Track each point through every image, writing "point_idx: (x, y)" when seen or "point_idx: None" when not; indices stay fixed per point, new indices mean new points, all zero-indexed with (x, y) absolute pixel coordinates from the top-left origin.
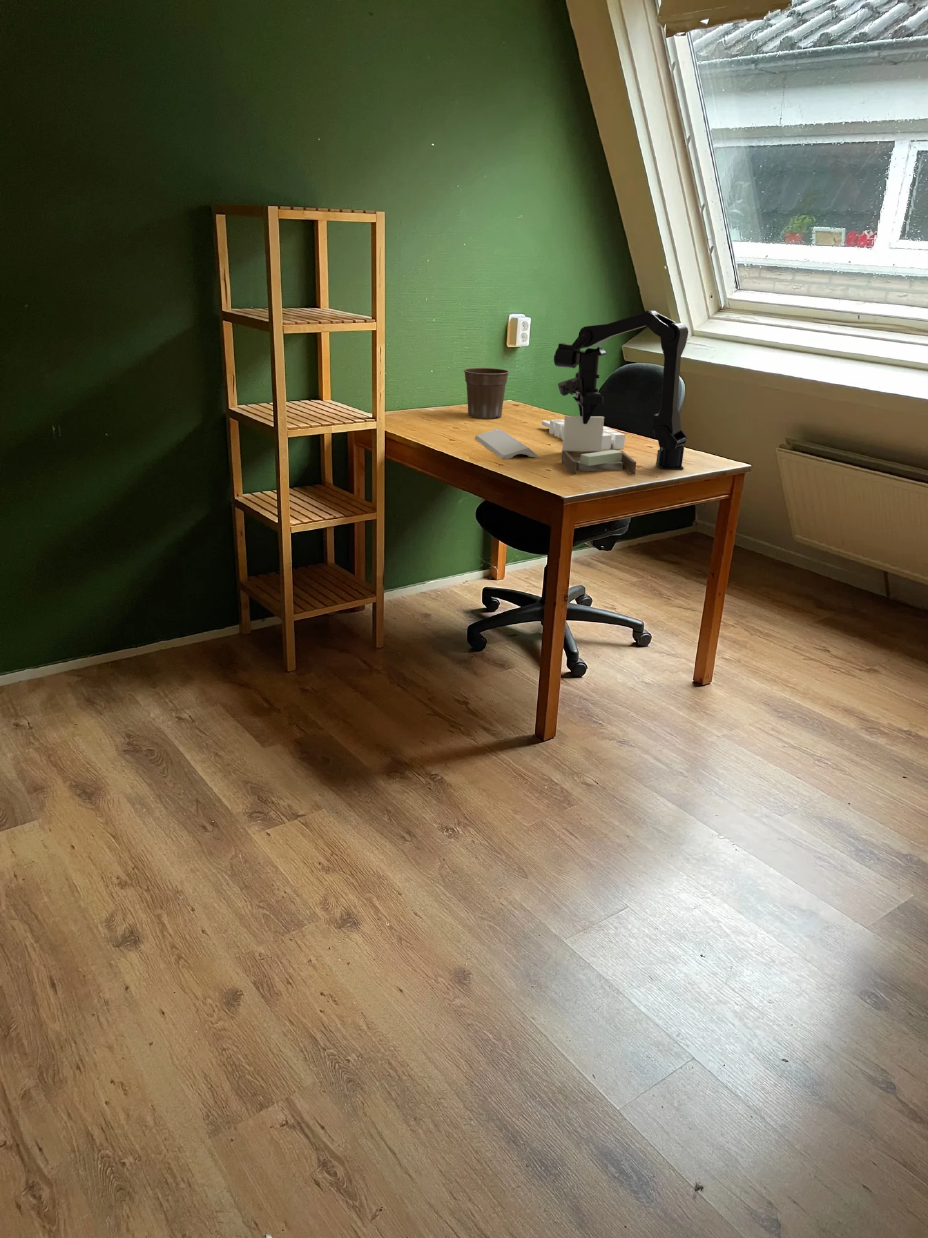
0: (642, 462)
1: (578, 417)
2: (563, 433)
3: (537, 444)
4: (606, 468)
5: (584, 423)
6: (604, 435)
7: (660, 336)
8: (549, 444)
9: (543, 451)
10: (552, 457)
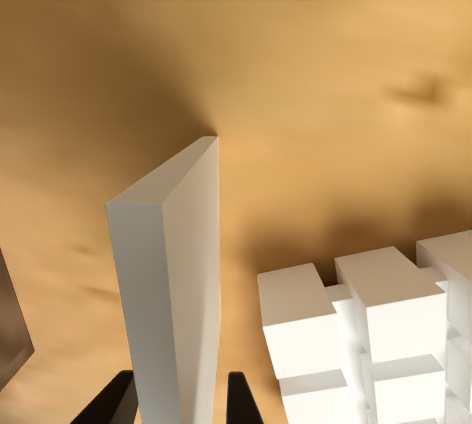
0: (63, 413)
1: (141, 391)
2: (200, 151)
3: (454, 7)
4: None
5: (120, 380)
6: (289, 409)
7: None
8: (435, 101)
9: (232, 6)
10: (61, 36)
